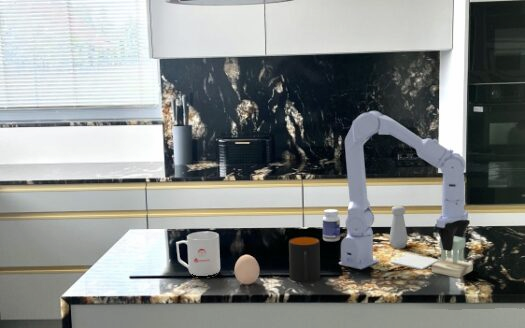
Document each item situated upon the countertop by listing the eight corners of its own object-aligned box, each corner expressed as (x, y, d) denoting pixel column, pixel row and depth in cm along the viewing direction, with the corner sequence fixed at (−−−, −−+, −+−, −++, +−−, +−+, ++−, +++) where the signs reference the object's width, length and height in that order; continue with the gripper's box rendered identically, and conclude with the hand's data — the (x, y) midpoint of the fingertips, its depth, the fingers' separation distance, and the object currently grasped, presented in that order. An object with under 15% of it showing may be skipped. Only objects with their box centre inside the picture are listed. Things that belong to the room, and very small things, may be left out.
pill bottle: (340, 241, 196) (340, 212, 194) (323, 242, 196) (323, 212, 194) (338, 237, 201) (338, 208, 200) (322, 237, 201) (321, 208, 200)
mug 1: (220, 267, 172) (219, 230, 171) (220, 278, 164) (218, 238, 162) (179, 269, 172) (177, 232, 170) (176, 280, 163) (174, 240, 162)
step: (459, 277, 157) (459, 270, 157) (431, 271, 162) (431, 264, 162) (472, 270, 163) (472, 263, 162) (445, 264, 168) (445, 257, 168)
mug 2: (290, 288, 154) (289, 249, 152) (289, 273, 166) (288, 237, 164) (322, 287, 154) (322, 248, 152) (319, 272, 166) (318, 236, 164)
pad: (421, 269, 165) (421, 268, 164) (390, 263, 171) (390, 261, 171) (439, 261, 172) (439, 259, 172) (408, 254, 179) (408, 253, 178)
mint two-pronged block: (456, 263, 159) (456, 241, 158) (439, 260, 162) (439, 238, 161) (464, 259, 162) (465, 237, 161) (447, 255, 166) (448, 234, 165)
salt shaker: (394, 243, 192) (394, 203, 190) (411, 245, 188) (411, 205, 186) (385, 247, 187) (385, 207, 185) (402, 250, 184) (402, 209, 182)
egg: (231, 282, 160) (230, 253, 159) (254, 278, 163) (252, 250, 161) (240, 289, 154) (239, 260, 153) (263, 285, 157) (262, 256, 155)
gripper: (454, 205, 152) (453, 256, 154) (479, 196, 162) (477, 244, 164) (429, 202, 157) (428, 251, 159) (454, 193, 167) (453, 240, 169)
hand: (452, 247), depth 162 cm, fingers closed on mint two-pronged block, 5 cm apart
